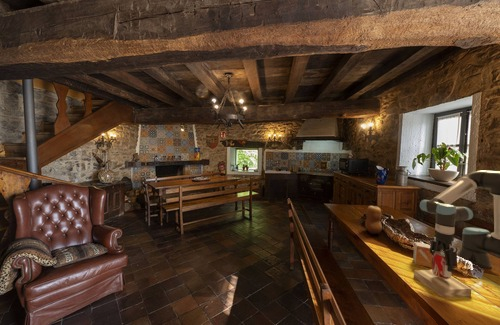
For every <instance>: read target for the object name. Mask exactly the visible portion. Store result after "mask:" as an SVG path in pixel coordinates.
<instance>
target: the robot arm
mask: <svg viewBox="0 0 500 325" xmlns="http://www.w3.org/2000/svg"><path fill="white" fill-rule="evenodd" d="M456 180H457V181H456V182H455V183H454V184H452V185H450V186H449V187H448V188H446V189H444V190H443V191H441V192H440V193H439V194H437V195H436V196H434V197H433V198H432V199H422V200H421V201H420V203H419V208H420V210H421V211H423V212H427V213H428V214H429V213H430V214H433V215H435V226H434V229H435V230H434V237H430V238H431V239H430V241H431V242H430V253H432V258H433V257H434V253H435V251H441V252H444V254H445V259H446V263H447V264H445V273H444V276H445V277H452V272H453V268H454V267H455V268H457V267H458V257H457V255H458V256H460V257H462V258H464V259H466V260H469V261H471V262H472V263H473V264H475V265H478V266H480V267H479V268H485V269H488V268H489V269H490V268H491V267H492V262H491V260H490V256H489V253H491V254H492V255H495V256H498V257H500V170H476V171H472V172H468V173H467V174H464V175H463V176H461V177H459V178H458V179H456ZM476 189H485V190H489V194H490V195H492V196H493V225H494V226H493V227H494V230H493V232H491V231H490V230H488V229H484V228H479V227H464V228H463V229H462V235H461V236H462V238H461V248H460V250H458V248H457V247H454V246H453V244H452V243H453V242H454V240H455V235H454V234H455V233H456V232H455V231H456V230H455V229H456V228H455V227H456V222H461V221H462V222H465V221H469V220H471V219H473V217H474V213H473V211H472V210H471V209H470V208H469V207H466V206H455V205H453V203H454V202H456V201H457V200H458V199H460V198H461V197H463V196H464V195H465V194H467V193H468V192H470V191H474V190H476ZM478 266H477V267H478Z"/></svg>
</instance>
